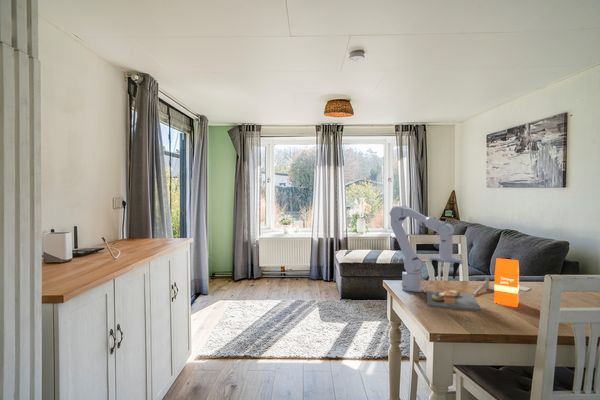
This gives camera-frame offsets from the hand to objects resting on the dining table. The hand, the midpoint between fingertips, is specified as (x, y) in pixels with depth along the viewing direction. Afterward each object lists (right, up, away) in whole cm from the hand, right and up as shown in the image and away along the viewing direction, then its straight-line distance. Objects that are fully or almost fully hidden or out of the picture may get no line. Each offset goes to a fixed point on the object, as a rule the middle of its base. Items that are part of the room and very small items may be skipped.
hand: (445, 277), depth 159 cm
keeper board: (0, -10, -7) cm, 12 cm away
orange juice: (+24, -10, -9) cm, 27 cm away
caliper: (+21, -10, +7) cm, 24 cm away
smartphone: (+43, -10, +16) cm, 47 cm away
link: (-2, -8, -5) cm, 10 cm away
